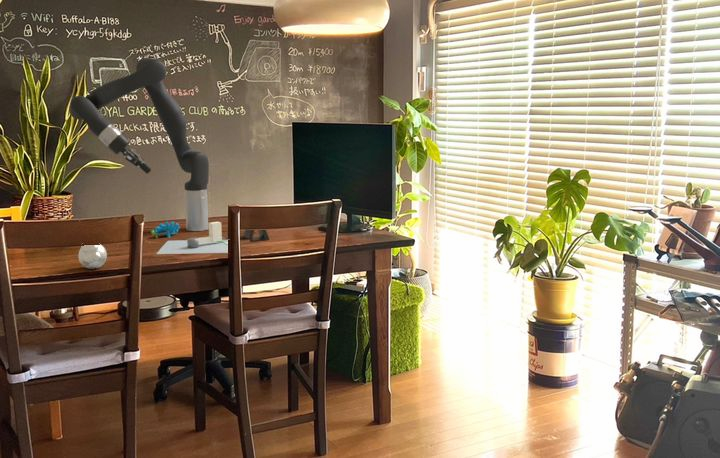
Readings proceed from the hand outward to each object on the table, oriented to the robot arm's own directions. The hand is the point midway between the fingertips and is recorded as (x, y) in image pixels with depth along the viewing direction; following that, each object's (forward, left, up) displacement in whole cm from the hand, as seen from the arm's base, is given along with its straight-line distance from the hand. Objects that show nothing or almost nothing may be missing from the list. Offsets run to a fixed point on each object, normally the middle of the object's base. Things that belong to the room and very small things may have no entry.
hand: (149, 171), depth 270 cm
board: (+11, +18, -28) cm, 35 cm away
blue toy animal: (-10, +3, -28) cm, 30 cm away
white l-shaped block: (+9, +21, -26) cm, 35 cm away
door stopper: (-6, +39, -28) cm, 48 cm away
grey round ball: (+39, -12, -28) cm, 50 cm away
